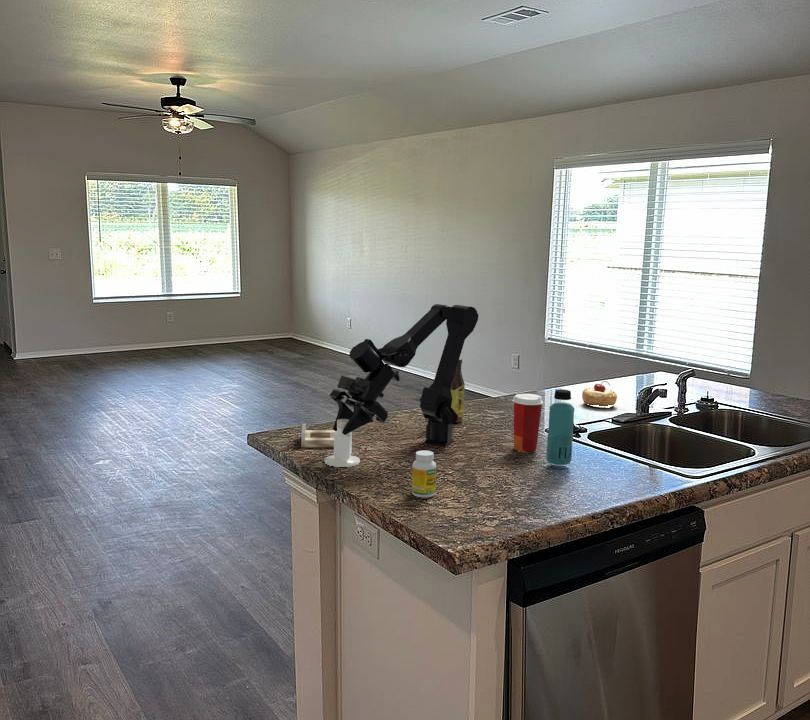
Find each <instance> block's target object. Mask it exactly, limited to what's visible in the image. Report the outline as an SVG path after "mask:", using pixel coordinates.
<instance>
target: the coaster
mask: <svg viewBox="0 0 810 720" xmlns="http://www.w3.org/2000/svg"><path fill="white" fill-rule="evenodd" d="M323 462H325V463H324V464H325V465H326V464H327V465H326V466H328V465H329V467H331V466H334V467H333V468H338V467H347V468H353V467H356V465H357V466H359V465H360V464H361V458H359V457H357V456H356V455H352V454H351V456H350V457H349V458H348V459H340V458H334V454H333V455H329V456H326V457H325V458H324V460H323ZM359 463H360V464H359ZM352 466H353V467H352Z"/></svg>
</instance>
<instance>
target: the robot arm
mask: <svg viewBox="0 0 810 720" xmlns="http://www.w3.org/2000/svg"><path fill="white" fill-rule="evenodd" d="M478 321H479V314H478V311H477V309H476V307H474V306H470V305H469V306H468V305H463V304H462V305H461V304H454V305H452V306H449V305H446V304H439V303H435V304H433V305H431V307H430V309H429V311H427V312H426V314H424V315H423V316H422V317H421V318H420V319H419V320H418V321H416V323H415V324H414V325H413V326H412V327H411V328H409V329H408V330H407V331H406V332H405V333H404V334H403V335H401V336H398V337H395V338H393V339H391V340H390V341H388V342H387V343H385V344H384V345H383V347H380V348H378V347H376V345H375V344H374V342H373V341H372V339H368V338H365V339H364V340H363V341H362V342H359V343H357V344H356V345H354V346H353V347H352V348H351V349H350V350H349V351H350V352H349V354H348V356H349V358H350V359H351V361H352V362H354V364H356V366H357V367H358V368H359V369H360V370H361V371H362V372H363V373H367V374H366V376H365V377H364V378H362V377H359V376H357V377H356V378H355V379H354V378H350V377H348V376H344V375H342V374H341V376H340V378H339V380H338V383H337V386H336V387H337V388H334V389H333V390H332V391H331V392H330V393H329V397H330V398H331V399H332V400H333V401H334V403H336V404H337V405H338V411H337V416H336V418H335V420H334V421H335V422H334V424H333V428H332V430H334V431H337V420H339V419H348V420H349V421H348V423H347V424H346V426H345V427H344V429H343V431H342V433H343V434H344V435H346V434H348V433H350V432H351V433H353V431H355V430H357V429H360V428H361V427H363V426H365V425H368V424H370V423H373V422H374V417H375V416H376V417H375V419H376V420H375V421H376V422H379V423H382V424H384V423H385V422H386V421H387V420H388V418H389V416H388V415H389V412H388V411H387V410H386V409H385V408H384V406H382V405H381V403H380V402H379V401H377V400H378V398H380V399H382V398H384V397H385V394H384V393H383V392H384V391H385V389H386V387H387V386H388V385H389V383H390V382H391V381H396V382H400V380H401V378H400V375H399V373H400V372H399V370H397V369H393V367H398V368H405V367H407V366H409V364H410V363H411V361H412V360H413V359H414V357H415V356H416V352H417V349H418V348H419V346H420V345H421V344H422V343H423V342H424V341H425V340H426V339H427V338H428V337H429V336H430V335H432V333H434V331H436V330H437V329H438V328H439V327H440V326H441V325H443V323H444V322H445V324H446V330H447V337H446V339H445V340H446V341H445V343H444V347H443V350H442V352H441V353H442V354H441V357H440V360H439V362H438V367H437V369H436V372H435V376H434V380H433V383H431V384H430V386H428V387H426V386H424V387H423V389H422V393H421V397H420V398H419V400H418V401H420V403H419V408H420V409H421V412H422V415H423V418H424V419H426V420H427V424H426V425H425V440H424V443H426V444H430V445H438V446H444V447H445V446H447V445H450V444H451V443H453V442H454V441H455V439H454V438H453V425H454V424H456V422H457V418H458V415H457V413H456V412H455V411H454V410H453V409H452V408H451V404H452V394H451V389H450V388H451V384H452V381H453V377H454V374H455V371H456V368H457V364H458V361H459V358H461V354H462V351H463V347H464V344H465V341H466V339H467V338H468V337H469V336H470V335H471V334H472V332H474V330H475V328H476V325H477V323H478ZM391 366H393V367H391ZM341 389H342V390H341ZM346 391H347V392H346Z"/></svg>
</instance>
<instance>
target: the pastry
mask: <svg viewBox="0 0 810 720" xmlns="http://www.w3.org/2000/svg"><path fill="white" fill-rule="evenodd" d="M603 383H607V384H608V386H611V385H610V383H609V382H608V381H606V380H603V381H601V384H600V383H596V384H594V386H593V387H592V388H591V387H589V388H584V389H583V391H582V393H581V395H582V397H581V398H582V401H583V403H584V404H585V403H586V404H589V405H599V406H608V405H614V404H617V399H618V395H617V393H616V392H615V391H613V390H611V389H610V390H609V389H608V388H607V389H606V386H604V385H603ZM586 404H585V405H586ZM614 406H615V405H614Z"/></svg>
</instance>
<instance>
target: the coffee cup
mask: <svg viewBox="0 0 810 720" xmlns="http://www.w3.org/2000/svg"><path fill="white" fill-rule="evenodd" d="M511 401H512V402H513V449H515V450H517V451H516V452H518V451H520V452H519V453H522V452H533V453H535V452H536V451H537V447H538V446H537V445H538V438H539V431H540V423H541V416H542V406H543V404H544V401H543V398H542V396H541V395H538V394H535V393H534V394H531V393H518V394H515V396H513V399H512V400H511ZM515 450H514V451H515ZM534 451H535V452H534Z"/></svg>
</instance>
